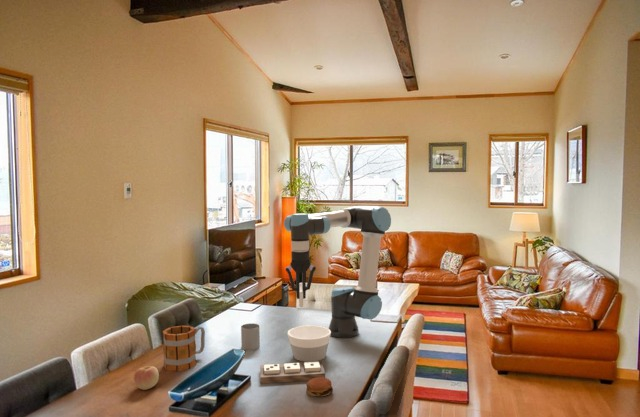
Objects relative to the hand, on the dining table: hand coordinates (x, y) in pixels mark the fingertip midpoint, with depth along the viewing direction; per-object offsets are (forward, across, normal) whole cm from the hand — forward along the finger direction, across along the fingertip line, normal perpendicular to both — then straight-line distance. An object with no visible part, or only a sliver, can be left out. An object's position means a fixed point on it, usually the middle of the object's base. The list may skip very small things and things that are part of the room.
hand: (301, 306), depth 203 cm
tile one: (+24, -3, +12) cm, 27 cm away
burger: (+25, -4, +29) cm, 38 cm away
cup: (+25, +22, -23) cm, 40 cm away
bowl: (+25, -4, -8) cm, 26 cm away
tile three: (+24, +13, +12) cm, 30 cm away
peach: (+25, +60, +15) cm, 67 cm away
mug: (+25, +49, -8) cm, 55 cm away
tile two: (+24, +5, +12) cm, 27 cm away
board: (+24, +5, +12) cm, 28 cm away
